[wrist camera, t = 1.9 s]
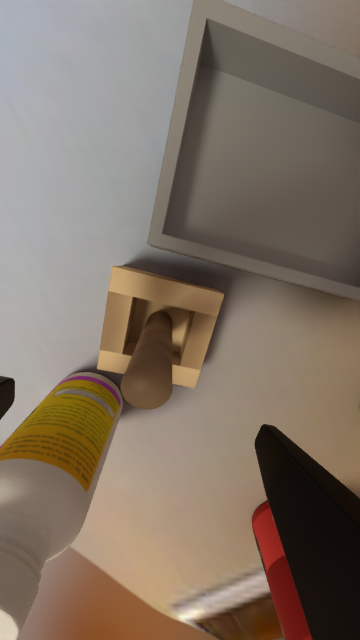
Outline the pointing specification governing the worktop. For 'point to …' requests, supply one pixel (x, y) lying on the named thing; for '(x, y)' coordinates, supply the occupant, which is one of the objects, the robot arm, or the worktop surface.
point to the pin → (150, 365)
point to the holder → (151, 296)
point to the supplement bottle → (50, 484)
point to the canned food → (279, 575)
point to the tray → (263, 153)
